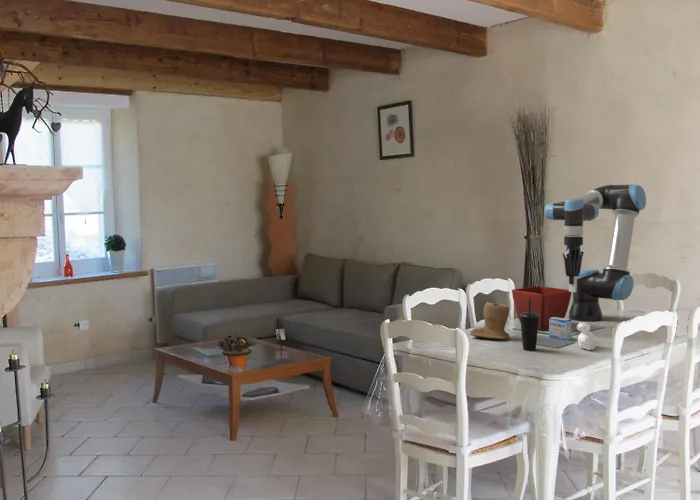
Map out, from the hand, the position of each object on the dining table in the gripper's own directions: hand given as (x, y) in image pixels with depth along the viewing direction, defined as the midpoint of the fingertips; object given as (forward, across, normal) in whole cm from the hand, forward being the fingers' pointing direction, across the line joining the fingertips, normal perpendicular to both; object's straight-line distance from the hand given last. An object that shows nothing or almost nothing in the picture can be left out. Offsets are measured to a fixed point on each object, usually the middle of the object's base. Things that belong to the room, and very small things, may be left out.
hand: (572, 291), depth 291 cm
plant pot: (+19, -6, -19) cm, 28 cm away
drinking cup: (+19, +34, +1) cm, 39 cm away
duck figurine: (+19, +17, +16) cm, 30 cm away
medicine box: (+19, +10, 0) cm, 21 cm away
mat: (+19, +18, 0) cm, 26 cm away
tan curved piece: (+19, +26, -22) cm, 39 cm away
